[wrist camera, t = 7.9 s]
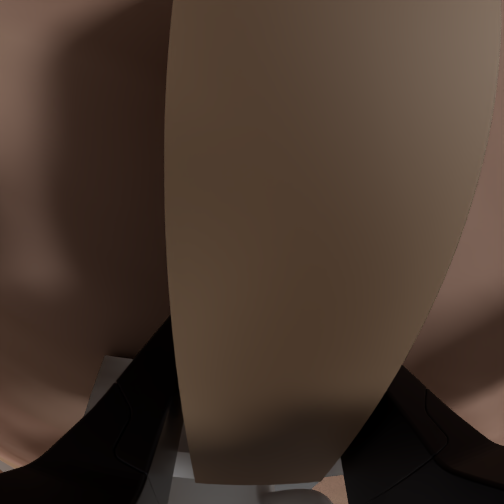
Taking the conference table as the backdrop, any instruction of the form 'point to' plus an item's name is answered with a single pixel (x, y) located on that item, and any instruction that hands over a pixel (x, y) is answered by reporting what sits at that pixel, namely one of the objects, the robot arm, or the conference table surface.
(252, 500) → the mug
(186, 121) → the panel
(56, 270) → the conference table surface
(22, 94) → the conference table surface
